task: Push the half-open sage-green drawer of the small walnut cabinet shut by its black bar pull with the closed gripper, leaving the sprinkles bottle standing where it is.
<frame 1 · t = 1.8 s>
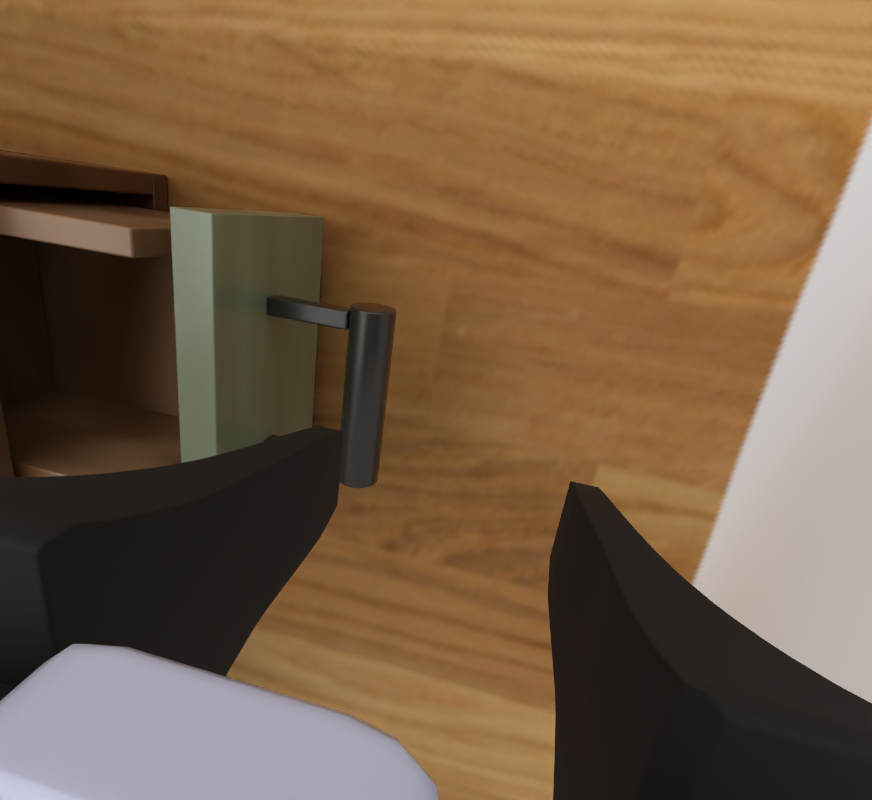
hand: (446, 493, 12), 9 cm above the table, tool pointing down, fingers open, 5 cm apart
cabinet: (42, 291, 23), on the table
drawer: (166, 352, 18), point 4 cm above the table, slide at 6.0 cm
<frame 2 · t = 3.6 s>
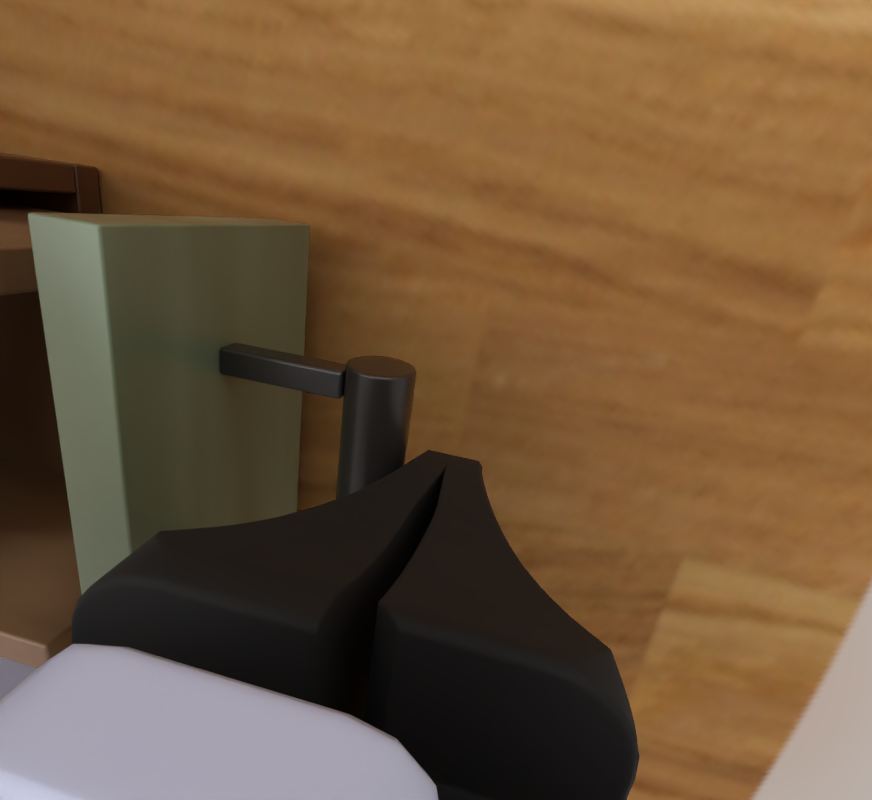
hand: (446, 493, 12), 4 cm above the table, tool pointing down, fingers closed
drawer: (84, 418, 13), point 4 cm above the table, slide at 6.0 cm, touching gripper
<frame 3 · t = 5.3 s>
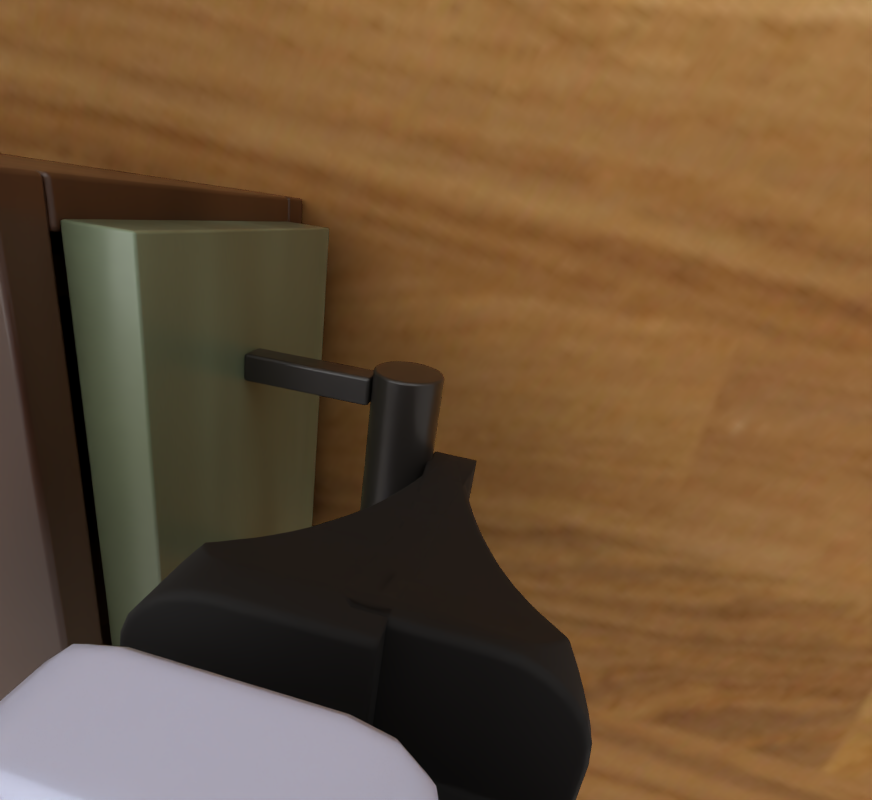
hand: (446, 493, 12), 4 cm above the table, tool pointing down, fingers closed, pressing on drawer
cabinet: (107, 354, 17), on the table
drawer: (103, 424, 12), point 4 cm above the table, slide at 0.0 cm, touching cabinet, gripper
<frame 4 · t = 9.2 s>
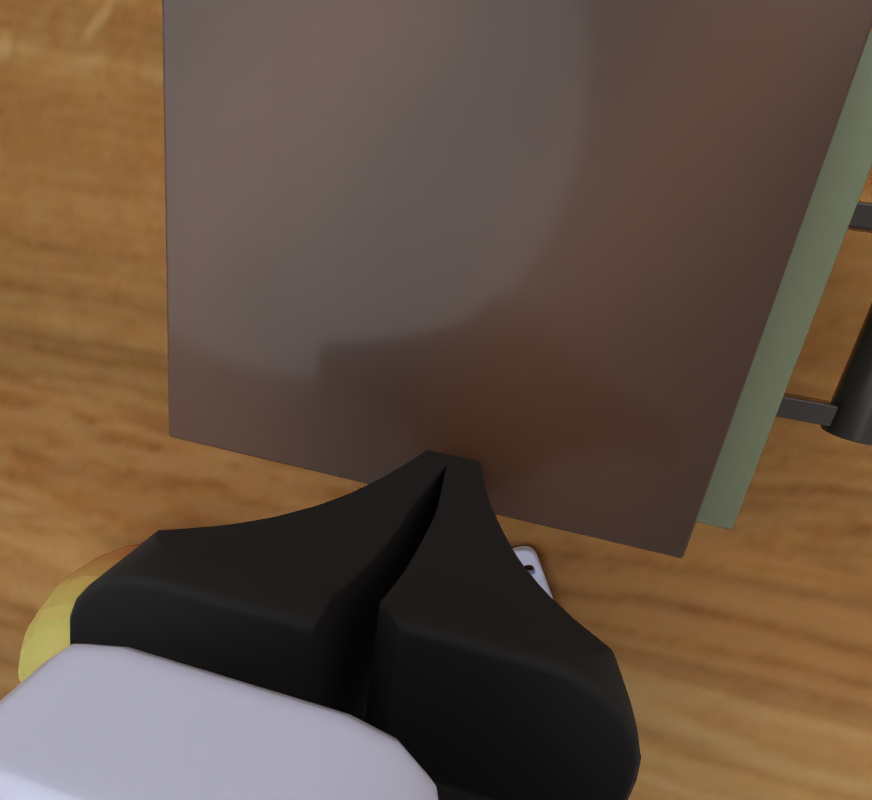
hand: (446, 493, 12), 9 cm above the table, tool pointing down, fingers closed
apple: (203, 595, 27), on the table
cabinet: (483, 257, 19), on the table
drawer: (596, 279, 14), point 4 cm above the table, slide at 0.0 cm, touching cabinet
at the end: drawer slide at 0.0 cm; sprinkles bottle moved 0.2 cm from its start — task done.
